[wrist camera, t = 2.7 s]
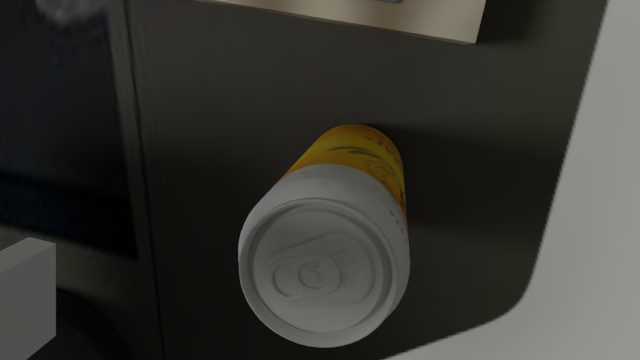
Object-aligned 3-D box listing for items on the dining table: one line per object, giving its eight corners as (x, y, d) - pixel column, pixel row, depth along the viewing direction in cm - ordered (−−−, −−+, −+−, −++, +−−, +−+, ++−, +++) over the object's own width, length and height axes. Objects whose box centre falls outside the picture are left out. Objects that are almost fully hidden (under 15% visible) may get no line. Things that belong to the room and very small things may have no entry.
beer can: (412, 203, 29) (430, 343, 15) (321, 223, 31) (258, 369, 16) (390, 111, 28) (385, 167, 14) (296, 135, 29) (202, 210, 15)
